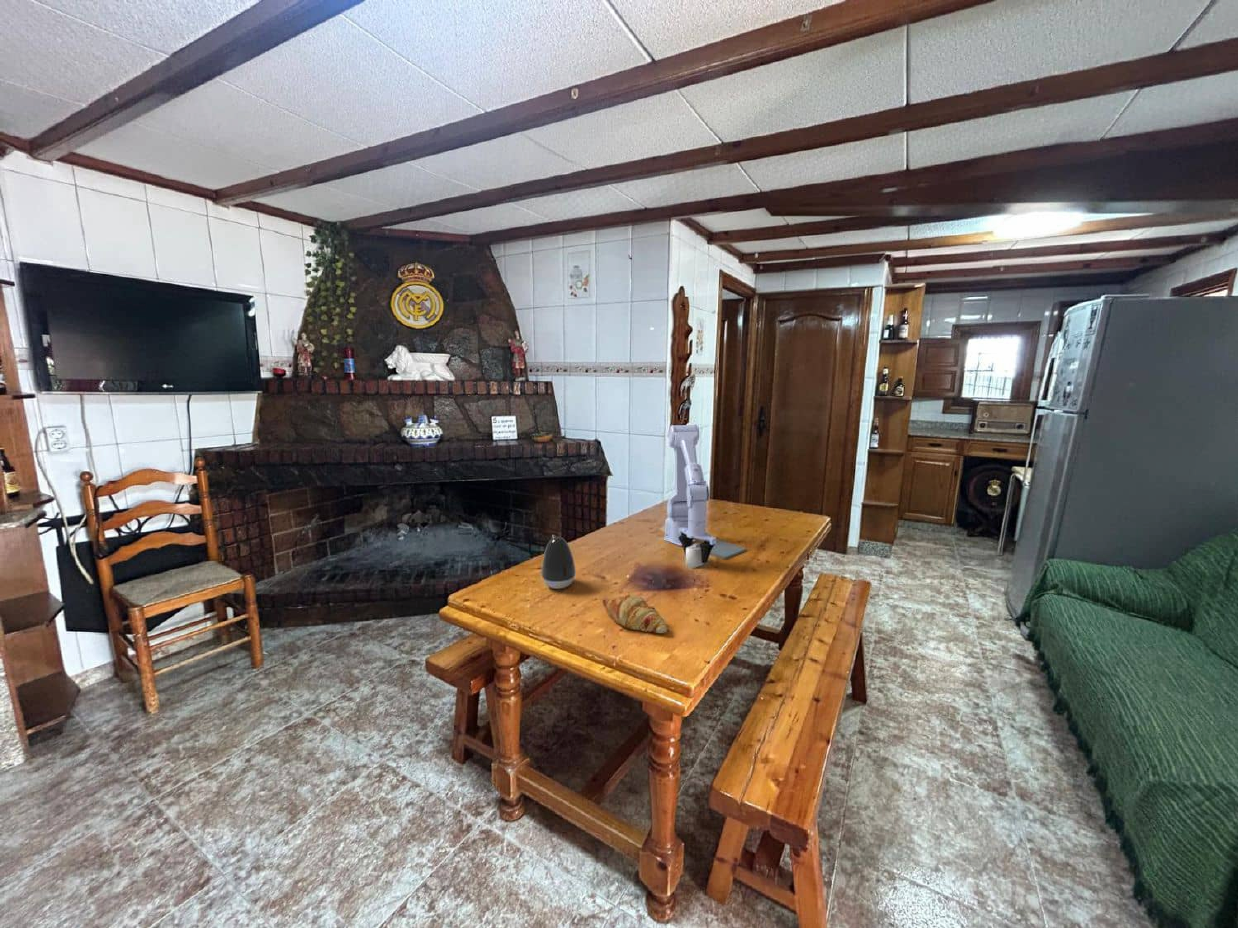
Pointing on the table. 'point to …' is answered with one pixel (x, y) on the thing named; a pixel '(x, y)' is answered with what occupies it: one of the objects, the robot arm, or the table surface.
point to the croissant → (634, 614)
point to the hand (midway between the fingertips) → (696, 559)
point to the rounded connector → (693, 556)
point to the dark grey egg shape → (558, 564)
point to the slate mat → (726, 549)
